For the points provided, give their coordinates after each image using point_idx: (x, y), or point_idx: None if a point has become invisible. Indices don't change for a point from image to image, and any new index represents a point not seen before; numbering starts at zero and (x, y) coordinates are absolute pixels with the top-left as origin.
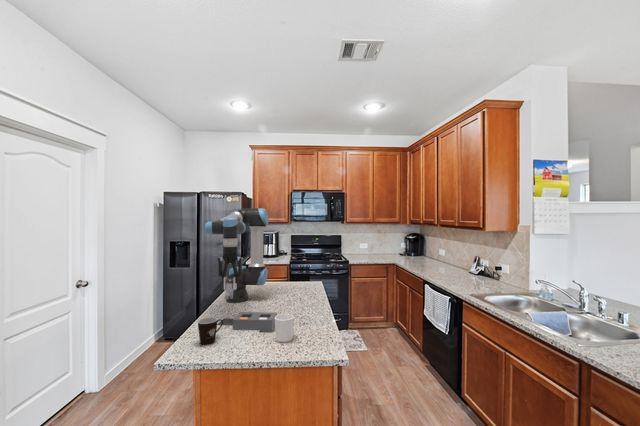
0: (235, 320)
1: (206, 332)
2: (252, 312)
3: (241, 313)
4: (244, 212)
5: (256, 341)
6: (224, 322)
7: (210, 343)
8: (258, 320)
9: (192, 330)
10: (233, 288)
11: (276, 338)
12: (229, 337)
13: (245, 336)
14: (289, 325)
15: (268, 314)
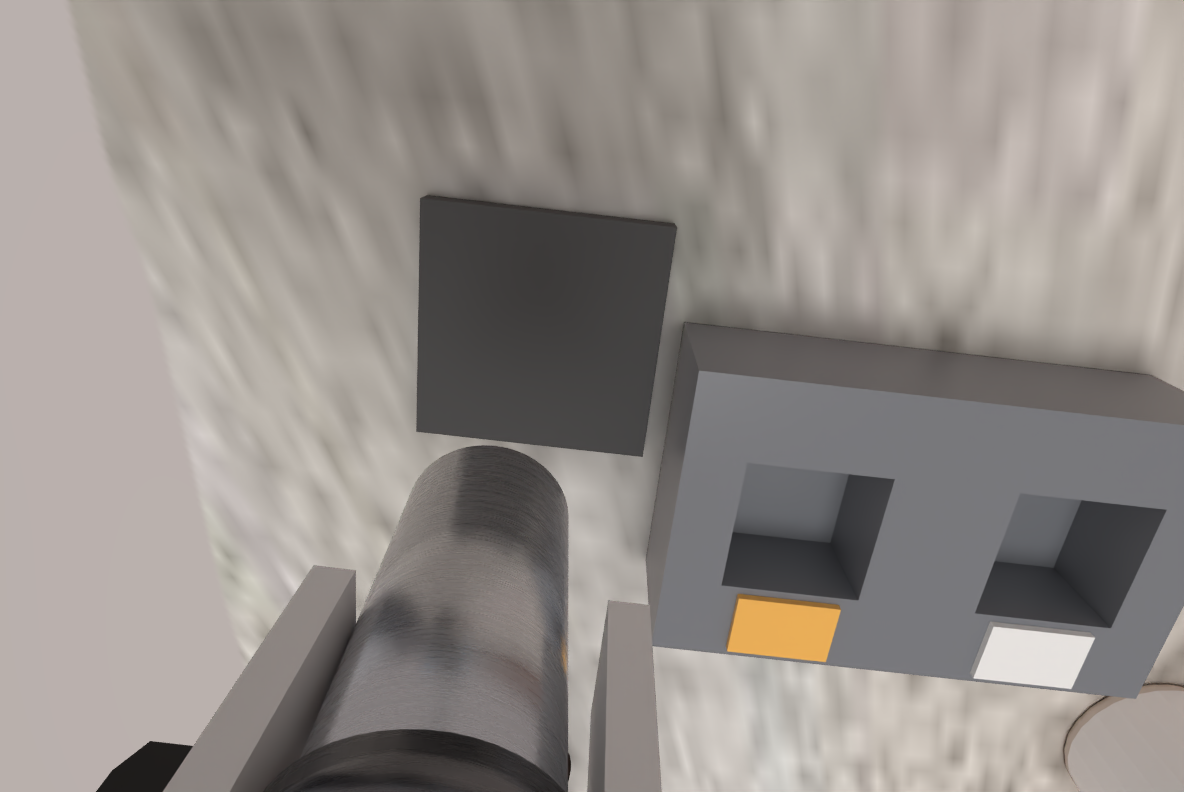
0: (682, 643)
1: None
2: (888, 404)
3: (722, 432)
4: None
5: (892, 757)
6: (485, 354)
7: None
8: (965, 675)
9: (204, 492)
10: (590, 744)
11: (1078, 787)
12: None
13: (788, 665)
14: None
15: (1124, 504)
